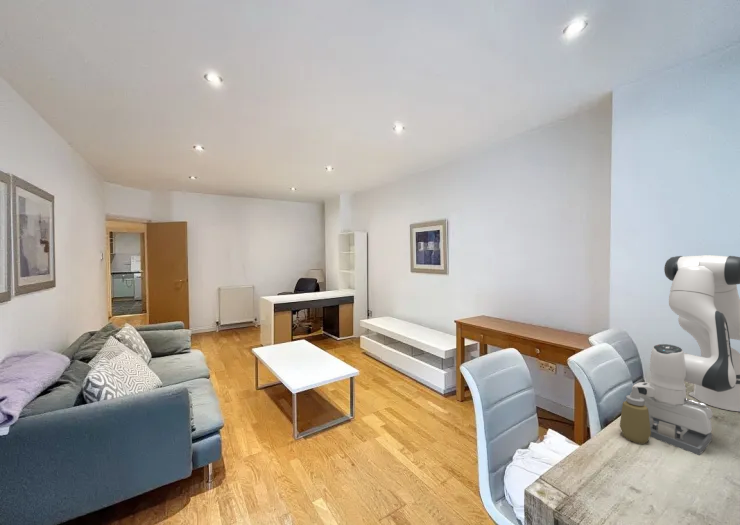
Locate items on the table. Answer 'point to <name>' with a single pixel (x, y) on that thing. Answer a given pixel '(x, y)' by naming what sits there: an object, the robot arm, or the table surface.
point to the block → (667, 429)
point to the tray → (691, 440)
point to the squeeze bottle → (635, 418)
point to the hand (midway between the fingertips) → (666, 433)
